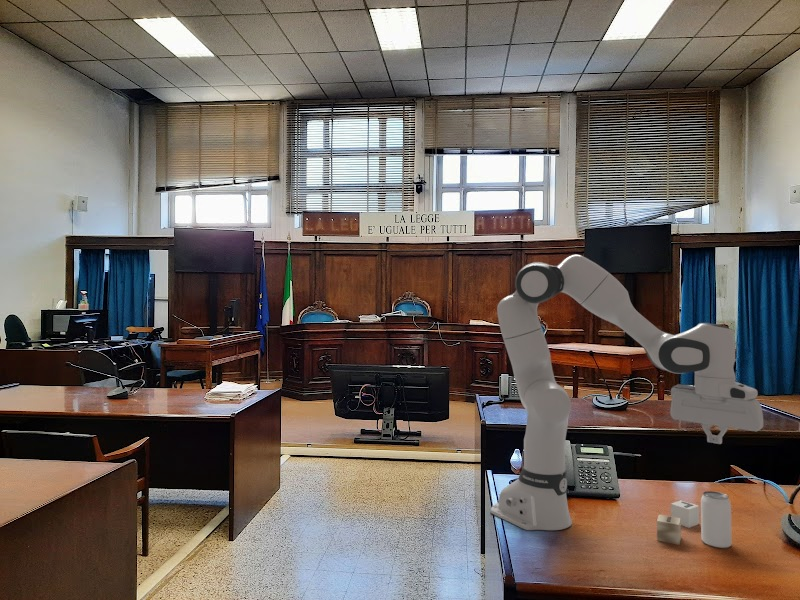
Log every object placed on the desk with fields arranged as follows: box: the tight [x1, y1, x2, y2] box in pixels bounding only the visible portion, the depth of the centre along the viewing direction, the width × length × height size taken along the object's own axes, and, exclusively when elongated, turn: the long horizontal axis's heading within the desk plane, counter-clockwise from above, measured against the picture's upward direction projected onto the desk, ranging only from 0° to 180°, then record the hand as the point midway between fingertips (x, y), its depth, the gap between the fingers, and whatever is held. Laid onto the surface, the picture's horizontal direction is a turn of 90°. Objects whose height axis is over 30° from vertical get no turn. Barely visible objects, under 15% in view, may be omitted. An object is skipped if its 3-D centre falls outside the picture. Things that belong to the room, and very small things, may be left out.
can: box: [700, 490, 732, 549], centre depth 133 cm, size 6×6×12 cm
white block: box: [670, 499, 700, 529], centre depth 145 cm, size 5×5×5 cm
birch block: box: [656, 514, 682, 546], centre depth 135 cm, size 5×5×5 cm
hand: (714, 442), depth 133 cm, fingers closed
